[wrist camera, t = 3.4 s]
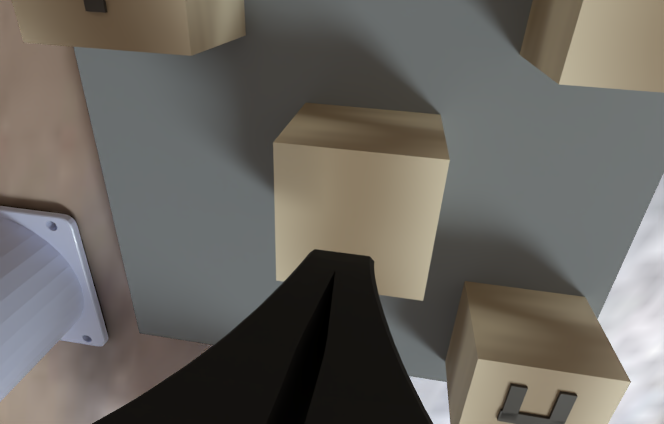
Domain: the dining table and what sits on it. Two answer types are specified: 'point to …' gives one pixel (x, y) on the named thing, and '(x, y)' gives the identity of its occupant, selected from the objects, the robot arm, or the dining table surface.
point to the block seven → (598, 43)
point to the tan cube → (132, 24)
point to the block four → (530, 360)
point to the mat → (377, 93)
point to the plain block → (361, 190)
